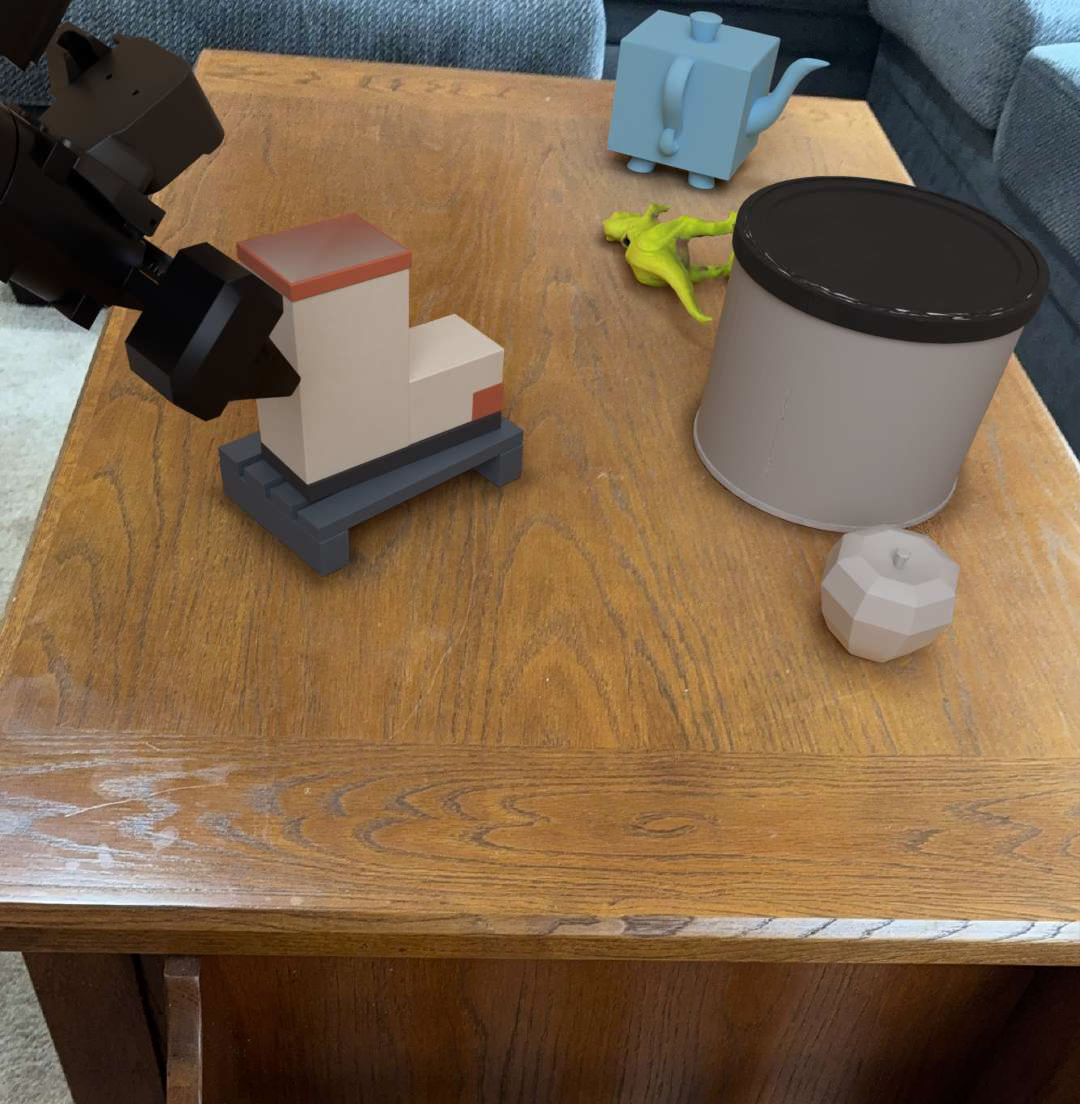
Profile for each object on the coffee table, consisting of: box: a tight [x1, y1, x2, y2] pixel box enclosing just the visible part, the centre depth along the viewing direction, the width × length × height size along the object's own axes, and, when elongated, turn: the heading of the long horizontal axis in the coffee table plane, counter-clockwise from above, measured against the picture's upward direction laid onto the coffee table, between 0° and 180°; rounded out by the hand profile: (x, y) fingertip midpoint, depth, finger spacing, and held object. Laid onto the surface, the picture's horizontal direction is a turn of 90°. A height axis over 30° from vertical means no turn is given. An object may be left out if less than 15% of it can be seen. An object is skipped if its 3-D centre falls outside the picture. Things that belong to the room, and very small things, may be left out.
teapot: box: [606, 9, 831, 190], centre depth 104 cm, size 18×16×13 cm
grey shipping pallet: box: [217, 415, 525, 577], centre depth 69 cm, size 16×10×4 cm, turn 135°
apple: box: [820, 524, 961, 664], centre depth 62 cm, size 8×8×7 cm
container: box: [692, 175, 1051, 534], centre depth 72 cm, size 19×19×15 cm
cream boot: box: [235, 212, 505, 503], centre depth 63 cm, size 14×5×13 cm, turn 130°
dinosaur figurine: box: [601, 202, 738, 324], centre depth 91 cm, size 20×10×6 cm, turn 29°
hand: (240, 347), depth 57 cm, fingers open, 9 cm apart
